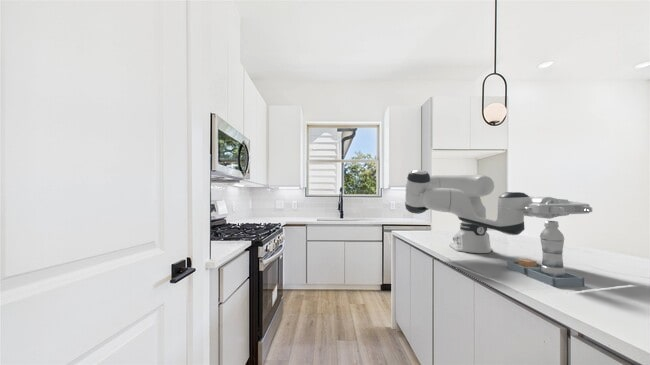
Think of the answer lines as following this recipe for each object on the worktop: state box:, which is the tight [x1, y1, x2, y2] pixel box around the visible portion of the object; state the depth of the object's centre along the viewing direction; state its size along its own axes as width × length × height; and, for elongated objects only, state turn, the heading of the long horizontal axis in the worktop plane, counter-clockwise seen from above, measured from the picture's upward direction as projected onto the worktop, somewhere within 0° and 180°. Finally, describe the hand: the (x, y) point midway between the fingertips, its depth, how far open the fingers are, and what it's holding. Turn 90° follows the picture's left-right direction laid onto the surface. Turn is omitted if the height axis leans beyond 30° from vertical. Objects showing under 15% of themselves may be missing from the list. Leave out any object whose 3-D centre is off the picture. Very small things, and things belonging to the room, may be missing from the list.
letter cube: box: [517, 258, 538, 267], centre depth 105 cm, size 4×4×4 cm
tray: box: [526, 269, 585, 288], centre depth 94 cm, size 11×10×3 cm
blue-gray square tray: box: [506, 260, 542, 276], centre depth 105 cm, size 9×9×3 cm
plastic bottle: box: [539, 220, 566, 278], centre depth 94 cm, size 6×7×20 cm
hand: (578, 209), depth 100 cm, fingers open, 8 cm apart
